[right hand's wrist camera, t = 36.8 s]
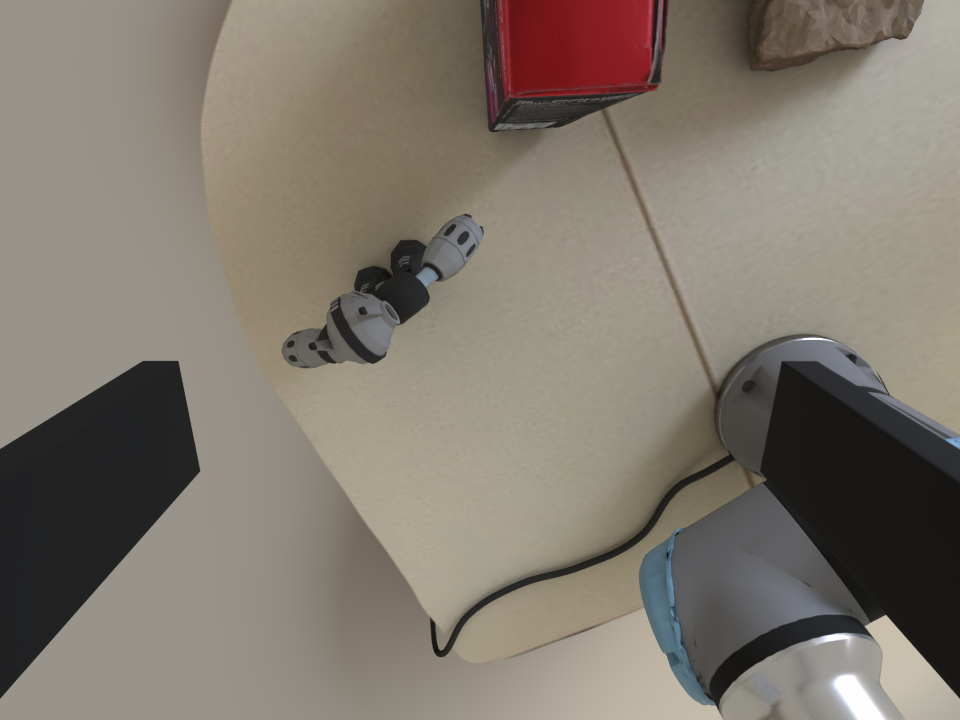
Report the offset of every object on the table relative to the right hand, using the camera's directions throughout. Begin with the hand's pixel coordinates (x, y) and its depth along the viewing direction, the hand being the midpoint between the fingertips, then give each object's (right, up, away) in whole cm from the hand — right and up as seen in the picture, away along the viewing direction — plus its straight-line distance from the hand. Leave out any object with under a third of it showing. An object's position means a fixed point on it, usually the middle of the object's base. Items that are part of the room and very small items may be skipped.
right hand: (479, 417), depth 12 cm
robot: (-8, +9, +40) cm, 42 cm away
